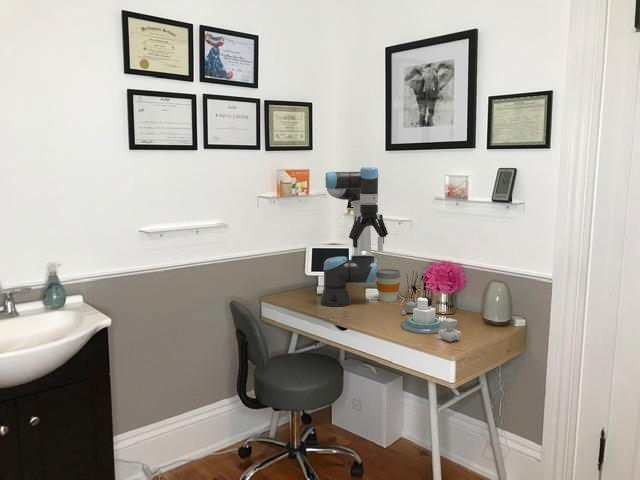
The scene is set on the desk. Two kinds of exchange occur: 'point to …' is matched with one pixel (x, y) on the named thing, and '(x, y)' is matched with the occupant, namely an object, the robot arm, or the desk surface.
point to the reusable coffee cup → (388, 284)
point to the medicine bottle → (424, 311)
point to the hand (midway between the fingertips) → (368, 253)
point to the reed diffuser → (410, 300)
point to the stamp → (449, 330)
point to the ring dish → (420, 331)
